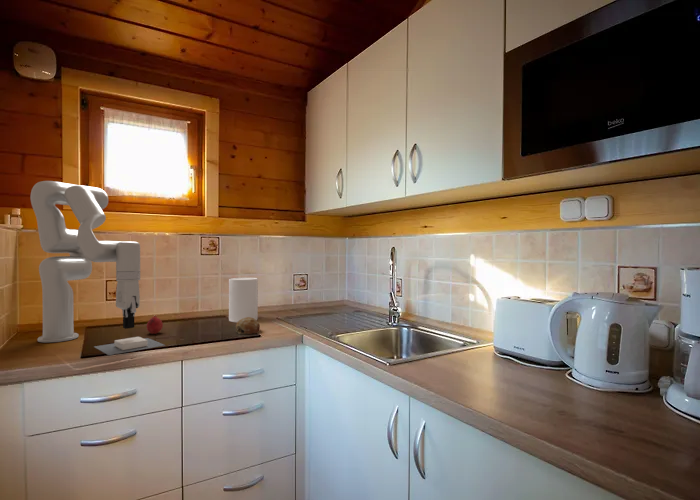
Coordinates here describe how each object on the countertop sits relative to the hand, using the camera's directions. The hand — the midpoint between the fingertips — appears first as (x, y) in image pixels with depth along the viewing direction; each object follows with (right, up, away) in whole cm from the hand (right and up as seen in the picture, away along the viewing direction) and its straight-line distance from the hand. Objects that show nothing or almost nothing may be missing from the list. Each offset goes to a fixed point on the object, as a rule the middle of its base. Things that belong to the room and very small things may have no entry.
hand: (128, 327), depth 141 cm
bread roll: (+36, -7, +26) cm, 45 cm away
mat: (+1, -7, -1) cm, 7 cm away
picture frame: (-1, -5, +1) cm, 5 cm away
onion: (0, -7, +19) cm, 20 cm away
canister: (+27, -7, +53) cm, 59 cm away
